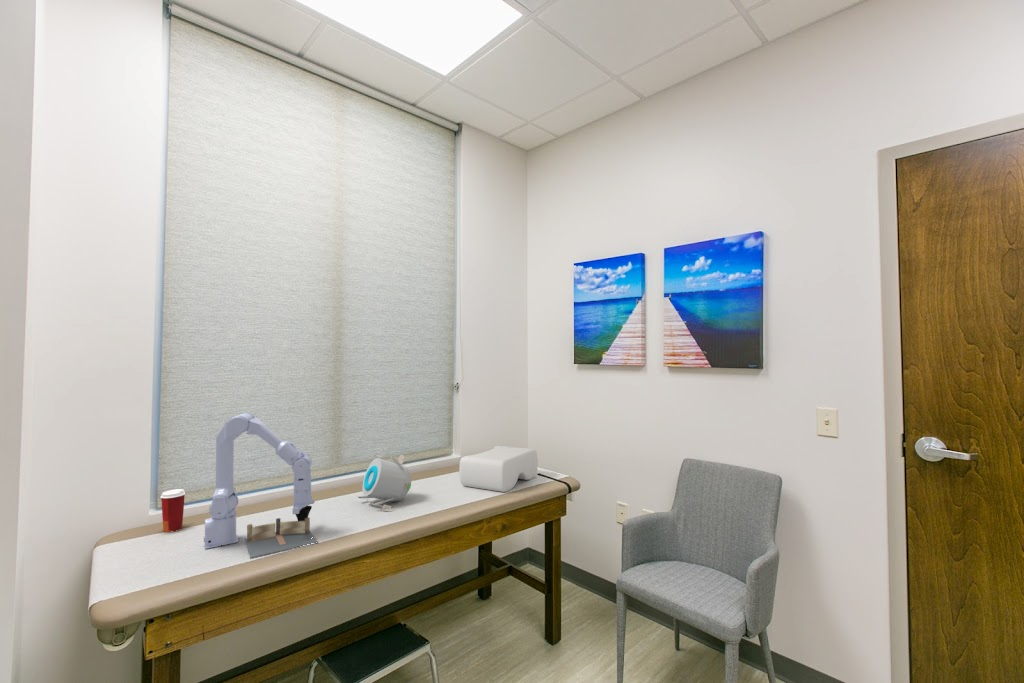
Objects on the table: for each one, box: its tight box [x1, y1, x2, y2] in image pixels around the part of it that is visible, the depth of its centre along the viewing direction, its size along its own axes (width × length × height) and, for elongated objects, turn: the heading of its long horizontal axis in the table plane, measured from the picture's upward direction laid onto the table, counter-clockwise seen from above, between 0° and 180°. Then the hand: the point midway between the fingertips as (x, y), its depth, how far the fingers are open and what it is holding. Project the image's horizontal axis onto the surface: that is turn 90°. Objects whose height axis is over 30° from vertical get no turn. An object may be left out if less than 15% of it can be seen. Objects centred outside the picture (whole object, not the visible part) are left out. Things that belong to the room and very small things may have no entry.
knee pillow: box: [458, 445, 539, 493], centre depth 229 cm, size 35×25×15 cm
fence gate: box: [275, 516, 311, 535], centre depth 163 cm, size 12×2×5 cm, turn 94°
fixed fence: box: [246, 522, 276, 542], centre depth 160 cm, size 9×2×5 cm, turn 125°
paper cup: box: [159, 488, 186, 533], centre depth 171 cm, size 8×8×14 cm
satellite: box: [358, 452, 412, 512], centre depth 200 cm, size 23×20×25 cm
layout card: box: [244, 530, 319, 560], centre depth 158 cm, size 20×19×1 cm
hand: (302, 527), depth 165 cm, fingers closed
